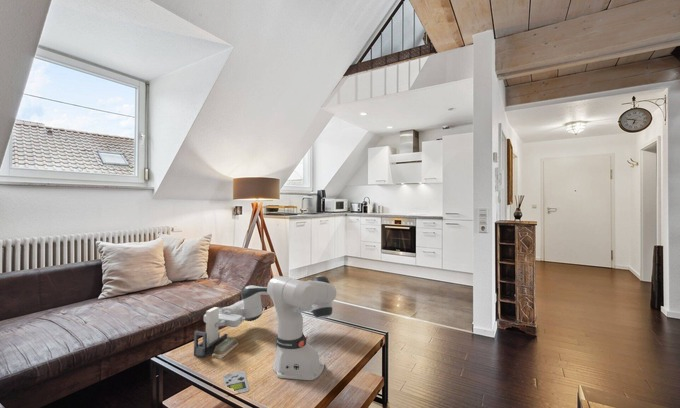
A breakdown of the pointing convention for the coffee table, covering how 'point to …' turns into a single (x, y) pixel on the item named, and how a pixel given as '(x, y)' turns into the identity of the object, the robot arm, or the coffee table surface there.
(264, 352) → the coffee table surface
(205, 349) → the slot rack
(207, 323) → the white rectangular slab
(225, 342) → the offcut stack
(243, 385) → the handheld gaming device
